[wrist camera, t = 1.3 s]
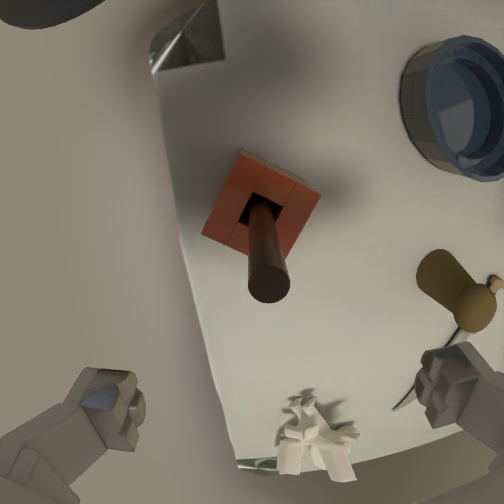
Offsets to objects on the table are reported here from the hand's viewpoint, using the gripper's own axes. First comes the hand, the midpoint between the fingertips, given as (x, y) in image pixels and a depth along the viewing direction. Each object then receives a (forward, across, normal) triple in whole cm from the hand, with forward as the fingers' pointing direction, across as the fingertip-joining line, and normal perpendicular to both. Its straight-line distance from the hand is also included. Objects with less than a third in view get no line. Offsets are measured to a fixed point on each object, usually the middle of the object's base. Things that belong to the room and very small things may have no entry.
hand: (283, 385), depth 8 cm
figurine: (+26, -7, +34) cm, 44 cm away
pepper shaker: (+26, -22, +10) cm, 36 cm away
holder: (+26, 0, 0) cm, 26 cm away
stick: (+26, 0, 0) cm, 26 cm away
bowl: (+26, -23, -10) cm, 36 cm away
